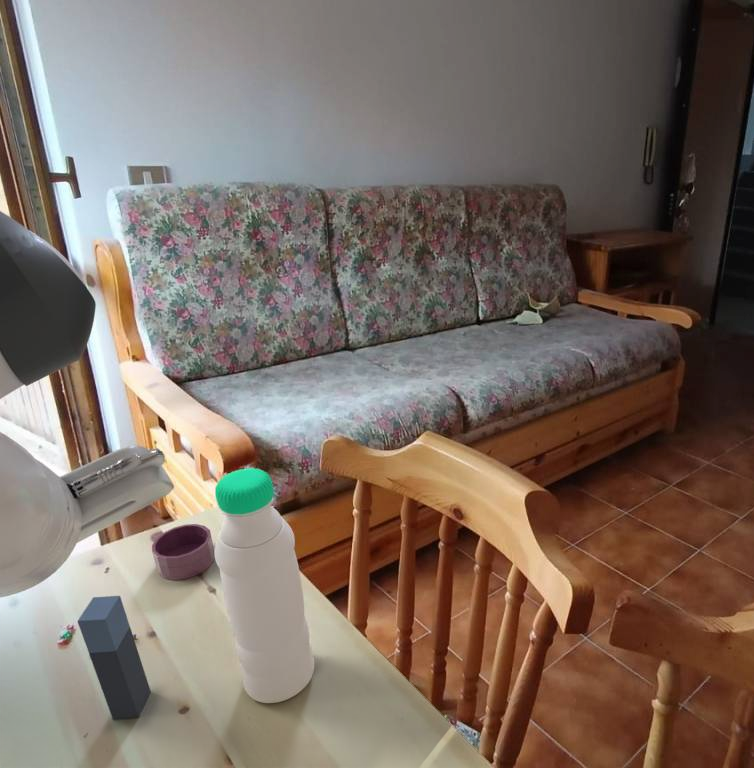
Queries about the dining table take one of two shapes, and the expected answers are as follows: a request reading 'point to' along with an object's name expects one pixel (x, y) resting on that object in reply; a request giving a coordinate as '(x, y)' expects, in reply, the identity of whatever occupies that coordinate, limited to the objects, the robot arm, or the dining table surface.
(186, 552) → the bowl
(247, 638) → the water bottle
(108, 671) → the eraser
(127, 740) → the dining table surface
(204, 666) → the dining table surface
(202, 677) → the dining table surface
